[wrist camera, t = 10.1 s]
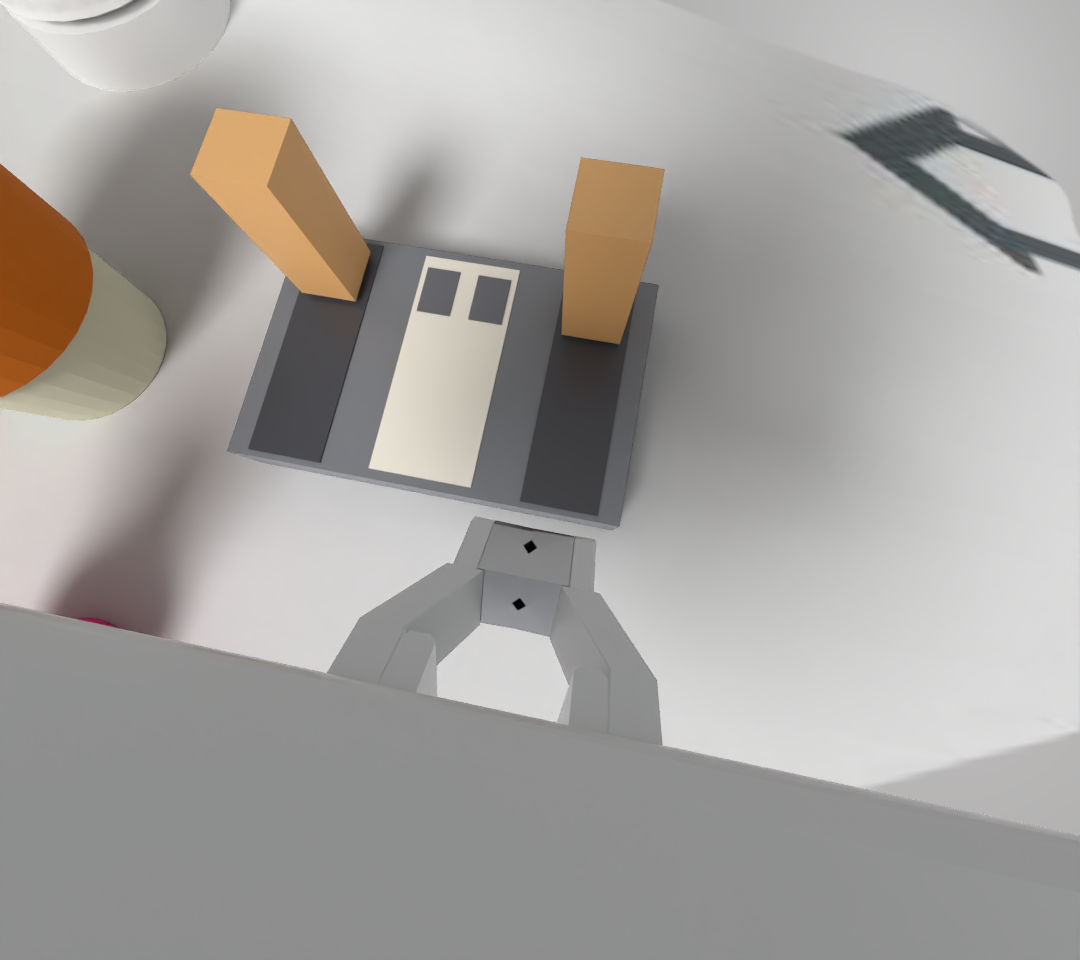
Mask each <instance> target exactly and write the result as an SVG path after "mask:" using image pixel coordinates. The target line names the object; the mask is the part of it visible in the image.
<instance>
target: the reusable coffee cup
mask: <svg viewBox="0 0 1080 960" xmlns="http://www.w3.org/2000/svg"><path fill="white" fill-rule="evenodd" d="M166 335H167V332H166V327H165V322H164V319H163V317H162V314H161V312H160V310H159V308H158V307H157V306H156V305H155V303H154V302H153V301H152V300H151V299H150V298H149V297H148V296H147V295H145V294H144V293H143V292H142V291H140V290H139V289H138V288H137V287H136V286H134V285H133V284H132V283H131V282H129V281H128V280H127V279H126V278H125V277H123V276H122V275H121V274H120V273H118V272H117V271H116V270H115V269H113V268H112V267H111V266H110V265H109V264H107V263H106V262H105V261H104V260H102V259H101V258H100V257H99V256H97V255H96V254H95V253H94V252H93V251H91V250H90V249H89V248H88V247H87V246H86V244H85V241H84V239H83V237H82V236H81V235H80V233H79V232H78V231H77V230H76V228H75V227H74V226H73V225H72V223H70V222H69V221H68V220H67V219H66V218H64V217H63V216H62V215H61V214H60V213H58V212H57V211H56V210H55V209H54V208H52V207H51V206H50V205H49V204H48V203H47V202H45V201H44V200H43V199H42V198H41V197H39V196H38V195H37V194H36V193H35V192H33V191H32V190H31V189H30V188H29V187H27V186H26V185H25V184H24V183H23V182H21V181H20V180H19V179H18V178H17V177H16V176H14V175H13V174H12V173H11V172H10V171H8V170H7V169H6V168H5V167H4V166H2V165H1V164H0V408H2V409H8V410H13V411H19V412H25V413H31V414H37V415H42V416H48V417H54V418H60V419H66V420H81V421H83V420H90V419H96V418H100V417H103V416H106V415H109V414H112V413H114V412H116V411H118V410H119V409H121V408H123V407H125V406H127V405H128V404H129V403H130V402H132V401H133V400H134V399H136V398H137V397H138V396H139V395H140V394H141V393H142V392H143V391H144V390H145V389H146V388H147V387H148V386H149V384H150V383H151V381H152V380H153V378H154V377H155V375H156V374H157V372H158V370H159V368H160V365H161V363H162V361H163V358H164V354H165V349H166Z"/></svg>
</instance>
